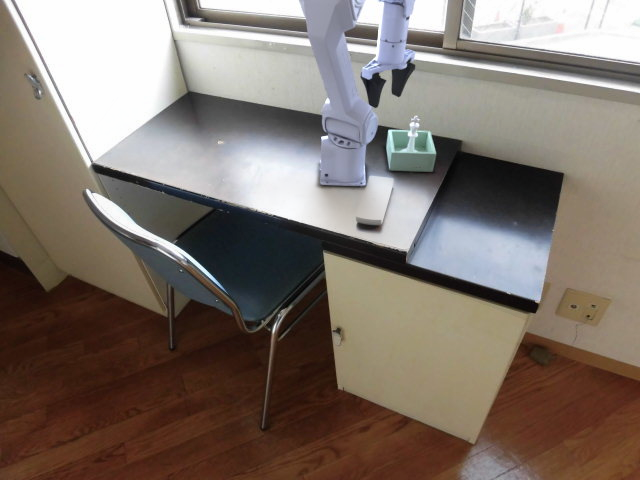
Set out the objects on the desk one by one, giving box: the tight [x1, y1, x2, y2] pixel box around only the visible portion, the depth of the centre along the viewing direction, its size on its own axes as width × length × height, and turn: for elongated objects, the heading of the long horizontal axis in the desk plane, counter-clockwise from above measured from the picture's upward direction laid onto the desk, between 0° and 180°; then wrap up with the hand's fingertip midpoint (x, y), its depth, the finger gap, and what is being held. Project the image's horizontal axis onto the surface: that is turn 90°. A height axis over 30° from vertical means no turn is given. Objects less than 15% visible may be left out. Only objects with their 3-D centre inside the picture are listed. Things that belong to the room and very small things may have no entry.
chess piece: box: [401, 115, 421, 152], centre depth 102 cm, size 5×5×10 cm
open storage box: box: [385, 129, 437, 173], centre depth 105 cm, size 9×9×5 cm
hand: (384, 100), depth 104 cm, fingers open, 7 cm apart
